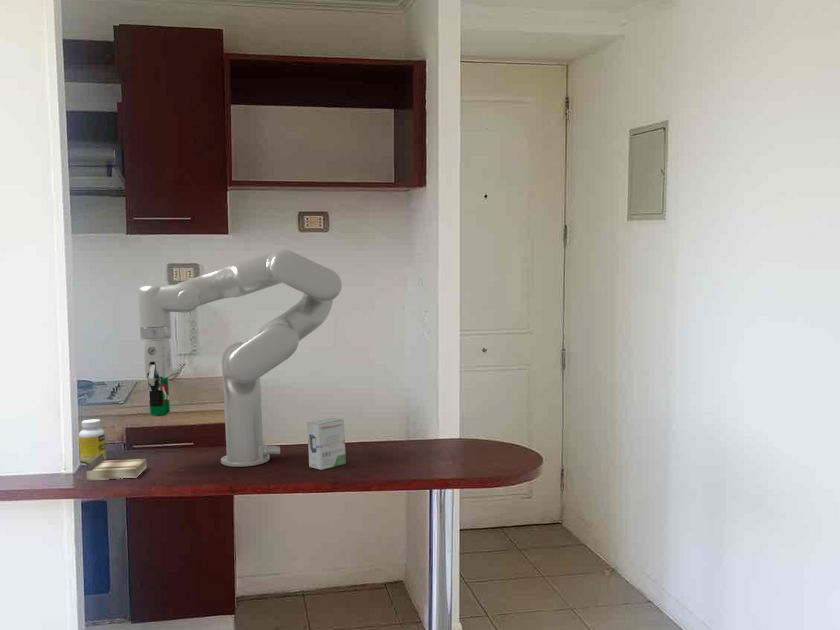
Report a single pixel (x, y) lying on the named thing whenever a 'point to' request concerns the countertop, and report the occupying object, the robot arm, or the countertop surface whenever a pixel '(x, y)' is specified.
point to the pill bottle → (91, 440)
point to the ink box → (326, 443)
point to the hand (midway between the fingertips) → (159, 403)
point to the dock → (113, 468)
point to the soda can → (166, 400)
